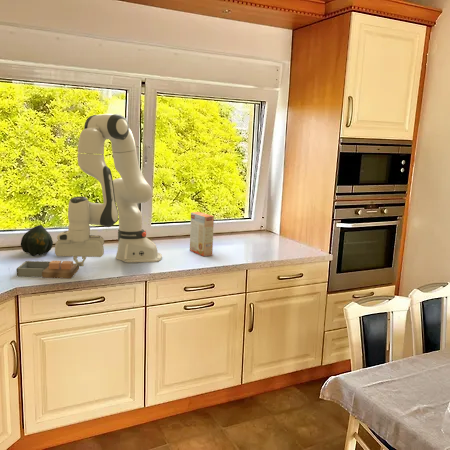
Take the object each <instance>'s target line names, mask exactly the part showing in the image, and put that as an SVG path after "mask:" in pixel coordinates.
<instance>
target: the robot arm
mask: <svg viewBox="0 0 450 450" xmlns="http://www.w3.org/2000/svg"><path fill="white" fill-rule="evenodd" d="M83 126H84V128H83V130H82V131H81V132H80V134H79V138H78V145H77V165H78V167H79V168H80V170H81V171H82V172H84V174H86V175H88V176H90V177H92V178H94V179H95V180H97V182H99V183H100V187H101V192H102V198H103V203H98V202H91V201H89V199H88V197H86V196H82V195H81V196H74V197H72V198H71V199H69V202H68V208H67V211H68V212H67V219H68V227H67V228H68V230H66V231H62V232H59V233H58V235H57V237H56V239H57V240H56V242H55V246H54V255H55V256H56V257H73V261H74V262H75V264H76V266H79V267H81V268H82V267H84V265H85V260H86V259H87V258H101V257H103V256H104V255H105V251H104V244H105V239H104V237H103V236H101V235H93V234H91V225H93V226H101V227H105V228H110V227H112V226H114V225H116V223H117V222H118V230H117V241H118V245H117V251H116V254H115V258H116V259H117V260H119V261H122V262H124V263H152V262H153V263H155V262H157V263H158V262H159V261H161V260H162V259H163V255H162V254H161V253H160V252H158V247H157V245H156V244H155V242H153V241H152V240H150V238H148V237H147V230H146V229H145V230H144V229H143V214H142V212H141V210H140V209H139V206H138V204H144V203H148V202H149V200H151V198H152V195H153V189H152V186H151V185H150V184H149V183H148V181H147V180H146V179H145V176H144V174H143V172H142V170H141V168H140V164H139V159H138V153H137V147H136V142H135V139H134V135H133V133H132V130H131V129H130V126H129V122H128V120H127V118H126V117H125V116H123V115H121V114H118V113H103V114H93V115H91V116H89V117H87V119H86V120H85V122H84V125H83ZM107 140H109V141H110V143H111V144H110V145H111V151H112V158H113V163H114V164H113V165H114V168H115V170H116V171H117V173H118V175H119V176H120V177H118V178H115V179H113V174H112V170H111V168H110V167H108V166H107V164H106V161H105V155H104V154H105V147H104V146H105V142H106V141H107ZM79 257H81V259H82V260H81V261H79V260H78V258H79Z"/></svg>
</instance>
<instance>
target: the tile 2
mask: <svg viewBox="0 0 450 450" xmlns="http://www.w3.org/2000/svg"><path fill="white" fill-rule="evenodd" d="M73 261H74V260H63V261H61V269H71V268H72V267H73V263H74V262H73Z"/></svg>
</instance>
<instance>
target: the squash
mask: <svg viewBox="0 0 450 450" xmlns="http://www.w3.org/2000/svg"><path fill="white" fill-rule="evenodd" d="M44 227H45V226H43V225H42V224H39V225H36V226H34V227H32V228H30V229H29V230H28V231H26V232H25V233H24V234H23V236H22V237H21V240H20V247H21V249H22V251H23V252H24V253H26V254H30V256H33V257H36V256H42V255H44V254H47V253H49V252H50V251H51V249H52V248H53V245H54V242H53V238H52V235H51V234H50V233H49V232H48V230H47V229H45V228H44Z"/></svg>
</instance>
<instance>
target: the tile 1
mask: <svg viewBox="0 0 450 450" xmlns="http://www.w3.org/2000/svg"><path fill="white" fill-rule="evenodd" d="M61 263H62V260H51V261H50V263H49V269H59V268H60V267H61Z"/></svg>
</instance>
